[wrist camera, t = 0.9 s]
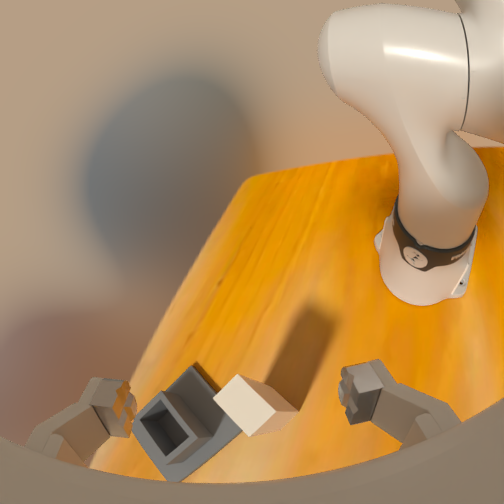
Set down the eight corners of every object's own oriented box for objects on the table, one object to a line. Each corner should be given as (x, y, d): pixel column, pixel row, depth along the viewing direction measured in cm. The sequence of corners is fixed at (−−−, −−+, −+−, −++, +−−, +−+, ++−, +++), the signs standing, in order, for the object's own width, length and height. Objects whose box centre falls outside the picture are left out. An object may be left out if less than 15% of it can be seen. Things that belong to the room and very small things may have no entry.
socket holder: (193, 366, 45) (175, 358, 41) (248, 425, 37) (233, 426, 33) (132, 426, 42) (110, 424, 37) (175, 485, 34) (154, 490, 29)
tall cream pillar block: (270, 386, 40) (237, 373, 29) (299, 411, 36) (276, 411, 25) (252, 404, 39) (212, 398, 28) (280, 430, 36) (249, 436, 25)
